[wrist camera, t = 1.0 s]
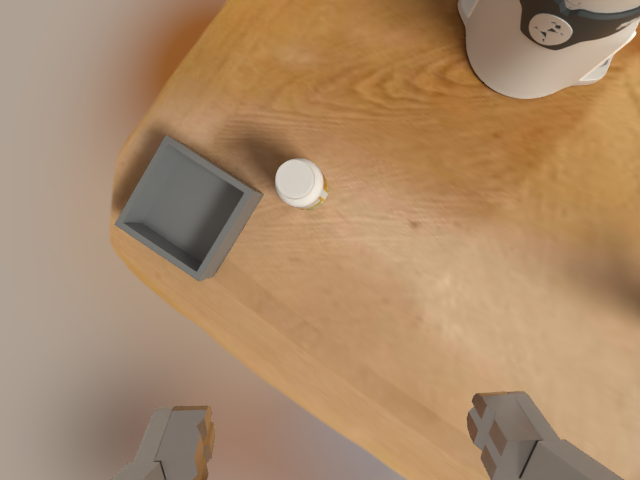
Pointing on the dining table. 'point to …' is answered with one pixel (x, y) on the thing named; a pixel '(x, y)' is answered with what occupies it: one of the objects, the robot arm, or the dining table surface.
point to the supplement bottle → (301, 184)
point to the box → (188, 209)
